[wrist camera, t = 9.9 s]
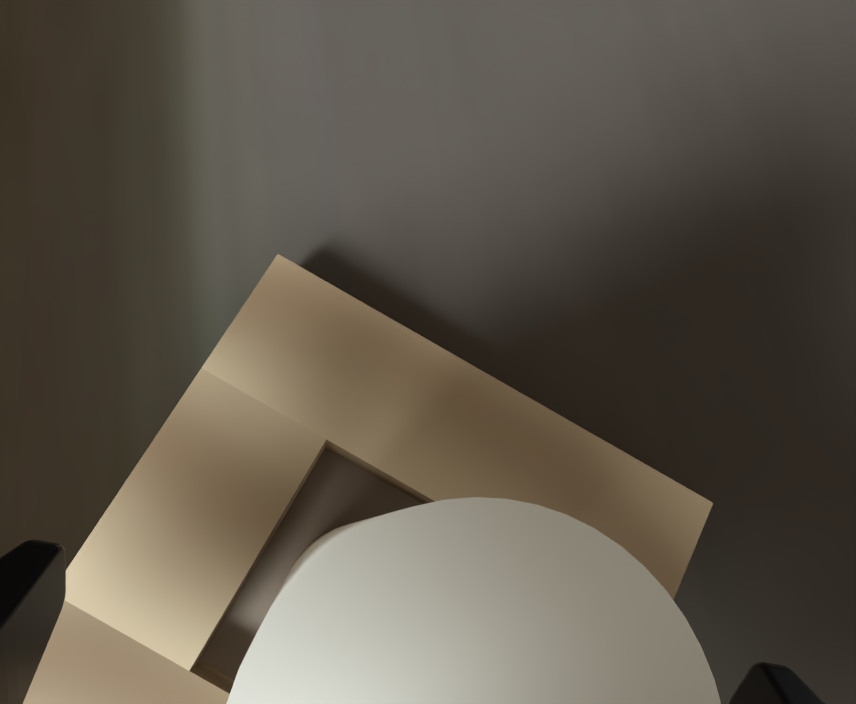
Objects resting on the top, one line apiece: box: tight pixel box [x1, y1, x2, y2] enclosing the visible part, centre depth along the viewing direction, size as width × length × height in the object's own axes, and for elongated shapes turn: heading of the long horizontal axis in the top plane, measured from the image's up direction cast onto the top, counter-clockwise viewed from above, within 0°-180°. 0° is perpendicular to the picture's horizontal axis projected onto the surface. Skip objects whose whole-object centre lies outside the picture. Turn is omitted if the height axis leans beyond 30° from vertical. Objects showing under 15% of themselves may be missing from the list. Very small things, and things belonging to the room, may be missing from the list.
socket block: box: [23, 254, 713, 704], centre depth 17 cm, size 12×12×2 cm
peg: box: [226, 497, 721, 704], centre depth 12 cm, size 4×4×12 cm
